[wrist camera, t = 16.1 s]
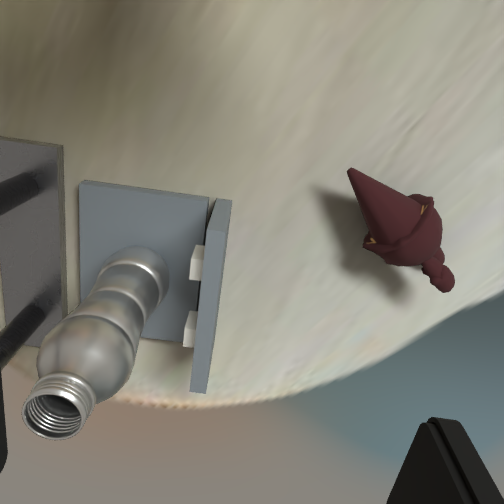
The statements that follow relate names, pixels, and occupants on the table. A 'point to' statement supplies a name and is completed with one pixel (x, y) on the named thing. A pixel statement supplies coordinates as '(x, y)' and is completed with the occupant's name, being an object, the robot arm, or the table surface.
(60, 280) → the cord gate
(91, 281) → the switch board
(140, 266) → the silver bottle
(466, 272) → the table surface
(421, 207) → the dark brown rounded figure
